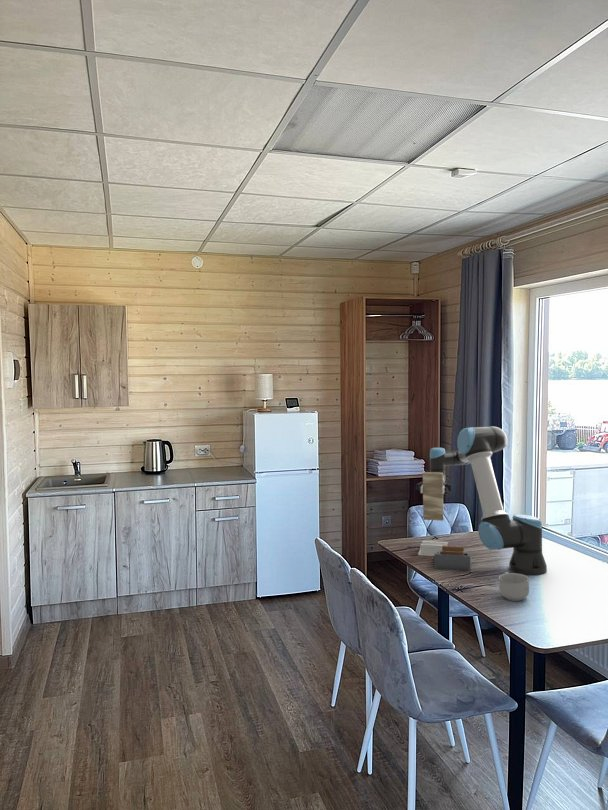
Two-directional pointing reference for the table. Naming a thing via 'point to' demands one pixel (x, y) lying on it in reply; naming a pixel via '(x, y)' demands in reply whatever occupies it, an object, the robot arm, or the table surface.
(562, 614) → the table surface
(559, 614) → the table surface
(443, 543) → the stand
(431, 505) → the birch sheet
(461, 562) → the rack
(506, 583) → the teacup
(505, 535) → the robot arm
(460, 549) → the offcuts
